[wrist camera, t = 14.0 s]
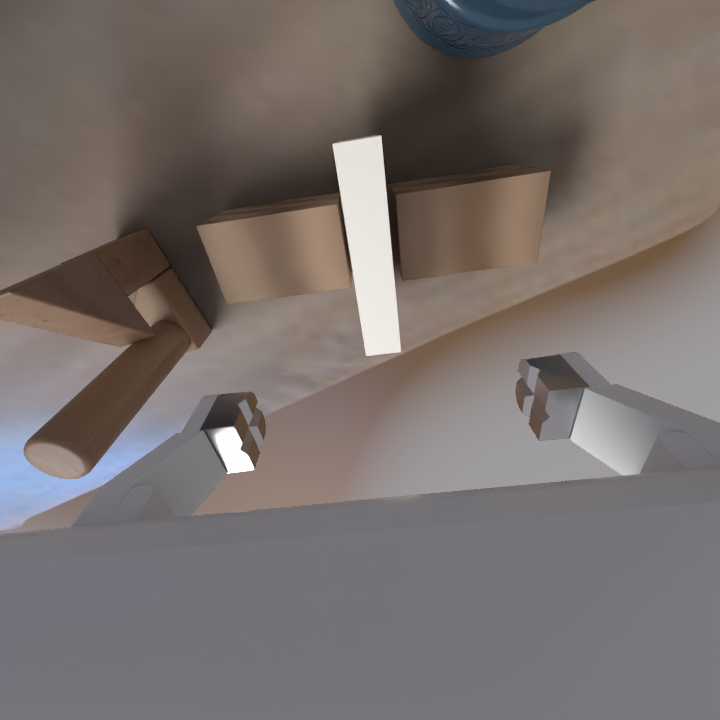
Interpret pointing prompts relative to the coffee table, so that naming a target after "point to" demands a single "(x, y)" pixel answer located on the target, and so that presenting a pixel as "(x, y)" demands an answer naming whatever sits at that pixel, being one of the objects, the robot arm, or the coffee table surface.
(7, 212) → the coffee table surface
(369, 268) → the white rectangular slab
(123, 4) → the coffee table surface
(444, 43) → the canister
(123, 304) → the wooden block
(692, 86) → the coffee table surface
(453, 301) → the coffee table surface
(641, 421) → the robot arm
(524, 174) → the walnut crossbar
